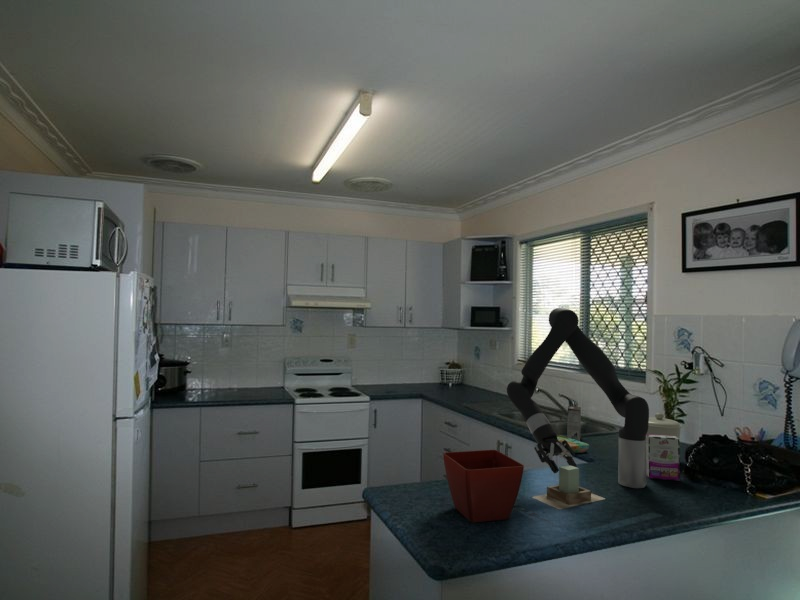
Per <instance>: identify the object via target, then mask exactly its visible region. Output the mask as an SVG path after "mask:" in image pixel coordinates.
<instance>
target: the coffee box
mask: <svg viewBox="0 0 800 600" xmlns="http://www.w3.org/2000/svg"><path fill="white" fill-rule="evenodd" d="M581 411H582V408H581V407H580V406H572V405H568V407H567V430H566V431H567V433H566V437H567V438H570V439H575V440H577V441H580V442H581V428H582V424H581V423H582V421H581V419H582V418H581V417H582V416H581V415H582V414H581Z"/></svg>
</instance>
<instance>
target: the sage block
mask: <svg viewBox="0 0 800 600" xmlns="http://www.w3.org/2000/svg"><path fill="white" fill-rule="evenodd" d="M558 468H559V471H558V485H559V490H560V491H563V492H565V493H568V494H570V493H575V492H579V487H580V468H579V467H578V466H577V467H574V466H571V465H567V464H566V465H562V466H559V467H558Z"/></svg>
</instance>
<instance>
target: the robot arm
mask: <svg viewBox="0 0 800 600" xmlns="http://www.w3.org/2000/svg"><path fill="white" fill-rule="evenodd" d="M548 323H549V326H550V327H551V328H550V330H549V331H548V334H547V336H546V337H545V339H544V340H543V341H542V342H541V343H540V344H539V345H538V347H537V348H535V350H533V352H532V353H531V355H530V356H529V358H527V361H526V363H524V366H523V367H522V369H521V375H522V378H521V381H518V380H517V381H516V380H512V381H511V382H509V383H508V384H507V386H506V393H507V396H508V398H509V400H510V401H511V403H512V404H513V405H514V406H515V407H516V409H517V410H518V411H519V412H520V414H521V415H522V418H523V420H524V421H525V424H526V425H527V428H528V430H529V431H530V434H532V436H533V438H534V440H535V442H536V444H535V446H534V451H535V452H536V455H537V457H538V458H539V461H540V462H541V463H543V464H544V463H546V464H547V465H548V467H549V468H550V470H551V471H552V472H553V474H557V473H559V467H558V465H557V463H556V462H555V460H554V458H553V457H554V456H557V457H560V458H563V459H564V460H566V463H567V464H568V465H571V466H574V467H577V468H578V465H577V463H576V462H575V460H574V459H573V457H574V456H575V455H576V453H574V451H573V450H572V448H571V447H570V446H569V444H568V443H567V441H566V440H564V441H563V442H560V441H559V440H558V439H557V436H558V433H557V432H556V430H555V429H554V426H553V425H552V424H551V422H550V420H549V419H548V417H547V416H546V415H545V414H544V412H543V411H542V409H541V407H540V405H539V404H538V403H537V402H536V401H535V400H533V398H532V397H533V396H534V394H535V390H536V388H537V385H538V382H539V380H540V378H541V376H542V375H543V374H544V372H545V369H546V368H547V366H548V365H549V364H550V362H551V360H552V359H553V358H554V356H555V354H556V353H557V352H558V350H559V349H560V348H561V347H562V345H563V344H564V343H566V344H567V346H569V349H571V351H572V353H573V354H574V356H575V357H576V359H577V361H579V363H580V364H581V366H582V367H583V368H584V370H585V371H586V372H587V373H588V374H589V376H590V377H591V378H592V379H593V381H594V382H595V383H596V385H597V386H598V387H599V388H600V389H601V391H603V392H604V394H605V395H606V397H607V398H608V400H609V402H610V403H611V405H612V407H613V408H614V409H615V411H616V412H617V414H618V415H619V416H620V417H622V418H624V426H623V427H621V428H620V429H618V457H617V458H618V460H617V461H618V463H617V464H618V467H617V471H618V472H617V473H618V475H617V476H618V477H617V479H618V480H617V482H618V484H619V485H621V486H623V487H627V488H632V489H643V488H645V487H646V486H647V479H648V476H647V460H646V434H647V432H648V424H649V417H650V408H649V404H648V402H647V400H646V399H645V398H643V397H642V396H640V395H639V396H638V395H634V394H632V393H630V391H628V390H627V389H626V388H625V386H624V385H623V384H622V383H621V382H620V380H619V378H618V375H617V372H616V368H615V366H614V365H613V362H612V361H611V360H610V358H609V357H608V356H607V354H606V353H605V352H604V351H603V350H602V348H601V347H599V346H598V344H596V343H595V342H594V341H593V340H592V339H591V338H589V337H588V336H587V335H586V334H585V333H584V332H583V330H582V329H581V328H580V326H579V316H578V315H577V313H576V312H575V311H573V310H571V309H569V308H565V307H557V308H554V309H552V310H551V312H550V313H549V314H548ZM569 451H570V453H569Z"/></svg>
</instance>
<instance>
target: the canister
mask: <svg viewBox="0 0 800 600" xmlns="http://www.w3.org/2000/svg"><path fill="white" fill-rule="evenodd" d="M681 428H683V425H682V424H681V423H680V422H678V421H676V420H673V419H669V418H665V417H664V413H662V412H656V413H654V417H653V416H649V424H648V432H647V434H649V435H666V436H677V437H678V438H679V439H680V436H681V430H682V429H681Z"/></svg>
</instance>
